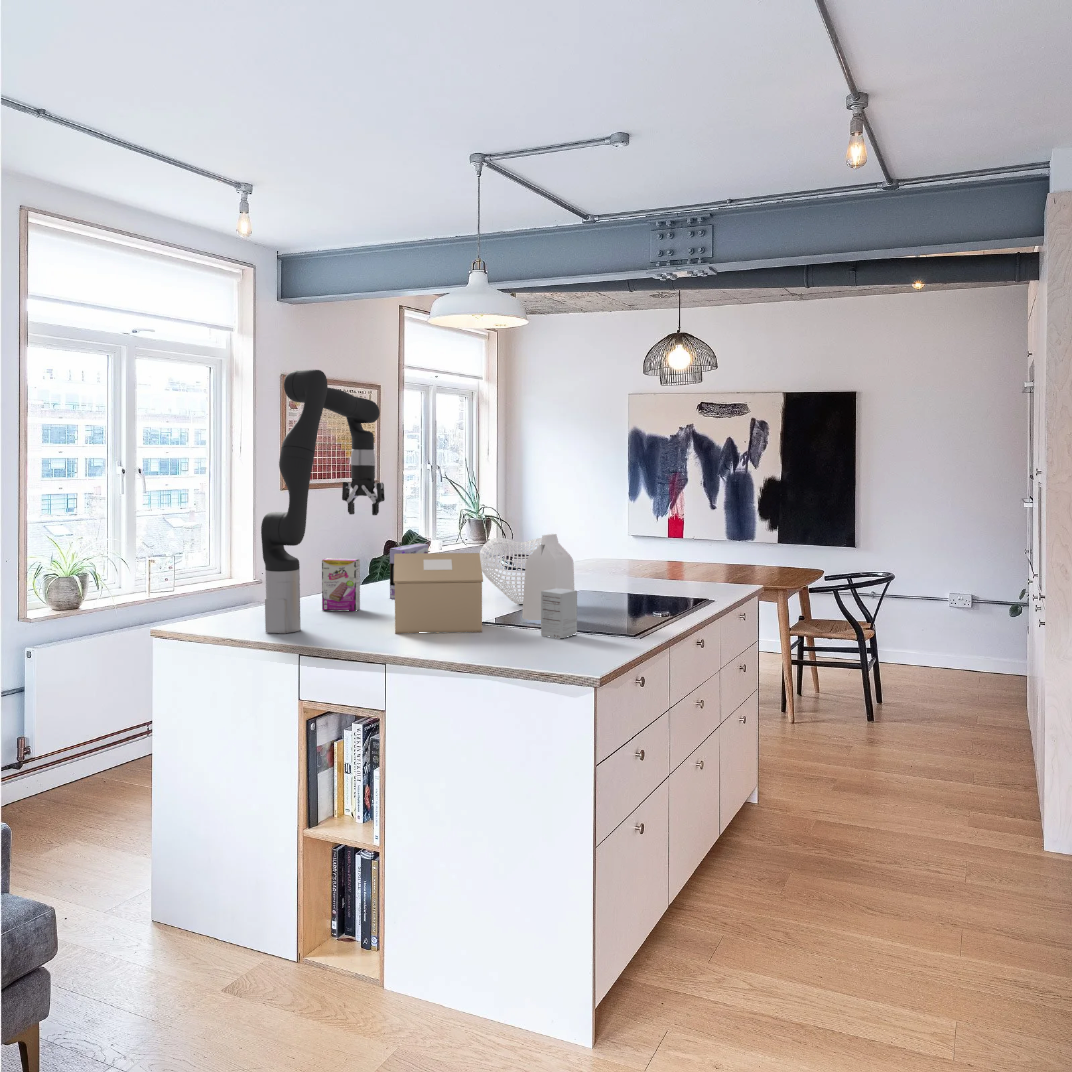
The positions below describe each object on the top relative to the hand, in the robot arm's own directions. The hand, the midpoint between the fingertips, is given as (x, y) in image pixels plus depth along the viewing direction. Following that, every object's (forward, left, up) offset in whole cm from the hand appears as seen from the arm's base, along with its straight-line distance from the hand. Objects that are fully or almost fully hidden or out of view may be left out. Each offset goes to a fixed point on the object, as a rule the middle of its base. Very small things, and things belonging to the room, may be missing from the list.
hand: (363, 514), depth 305 cm
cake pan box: (+27, -5, -30) cm, 41 cm away
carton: (-27, -36, -30) cm, 54 cm away
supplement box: (-29, -72, -30) cm, 83 cm away
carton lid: (-28, -36, -13) cm, 47 cm away
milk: (-8, -64, -30) cm, 71 cm away
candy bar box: (-7, +4, -30) cm, 31 cm away
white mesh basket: (+19, -48, -30) cm, 59 cm away
